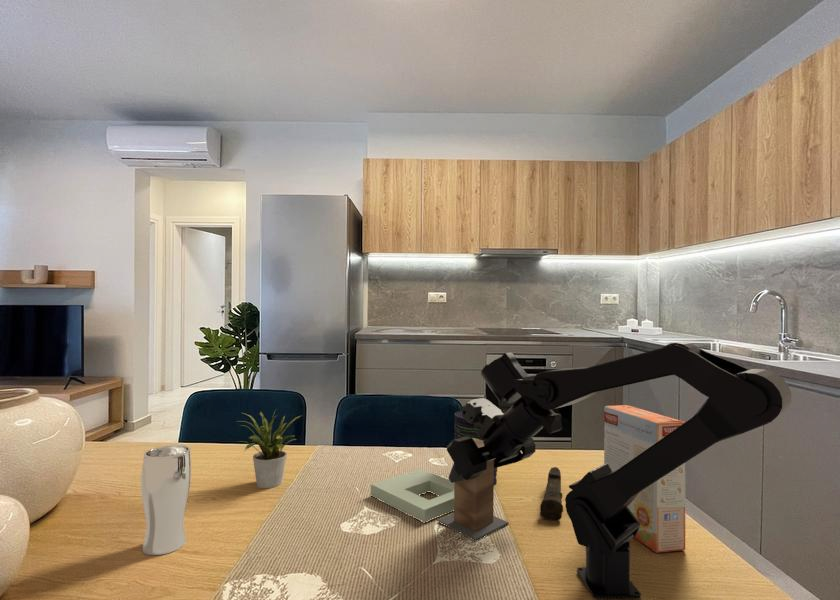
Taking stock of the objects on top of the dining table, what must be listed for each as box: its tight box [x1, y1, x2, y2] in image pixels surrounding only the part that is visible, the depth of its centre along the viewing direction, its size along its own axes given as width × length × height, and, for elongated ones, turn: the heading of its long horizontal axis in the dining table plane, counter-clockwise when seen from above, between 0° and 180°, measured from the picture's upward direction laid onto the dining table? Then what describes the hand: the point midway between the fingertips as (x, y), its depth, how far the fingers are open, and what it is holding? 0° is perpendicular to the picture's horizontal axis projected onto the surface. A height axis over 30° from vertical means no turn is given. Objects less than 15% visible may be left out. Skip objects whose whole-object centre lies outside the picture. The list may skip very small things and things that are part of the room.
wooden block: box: [453, 438, 495, 531], centre depth 81 cm, size 5×5×14 cm
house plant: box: [235, 409, 303, 489], centre depth 98 cm, size 14×14×16 cm
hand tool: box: [539, 466, 564, 522], centre depth 91 cm, size 19×4×5 cm, turn 158°
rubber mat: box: [437, 512, 509, 542], centre depth 80 cm, size 9×9×1 cm
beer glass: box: [140, 444, 192, 556], centre depth 72 cm, size 7×7×15 cm
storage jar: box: [453, 410, 498, 486], centre depth 102 cm, size 10×10×15 cm
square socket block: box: [370, 468, 454, 522], centre depth 91 cm, size 16×14×2 cm
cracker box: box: [603, 404, 686, 554], centre depth 78 cm, size 14×6×21 cm, turn 12°
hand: (467, 473), depth 82 cm, fingers open, 9 cm apart
